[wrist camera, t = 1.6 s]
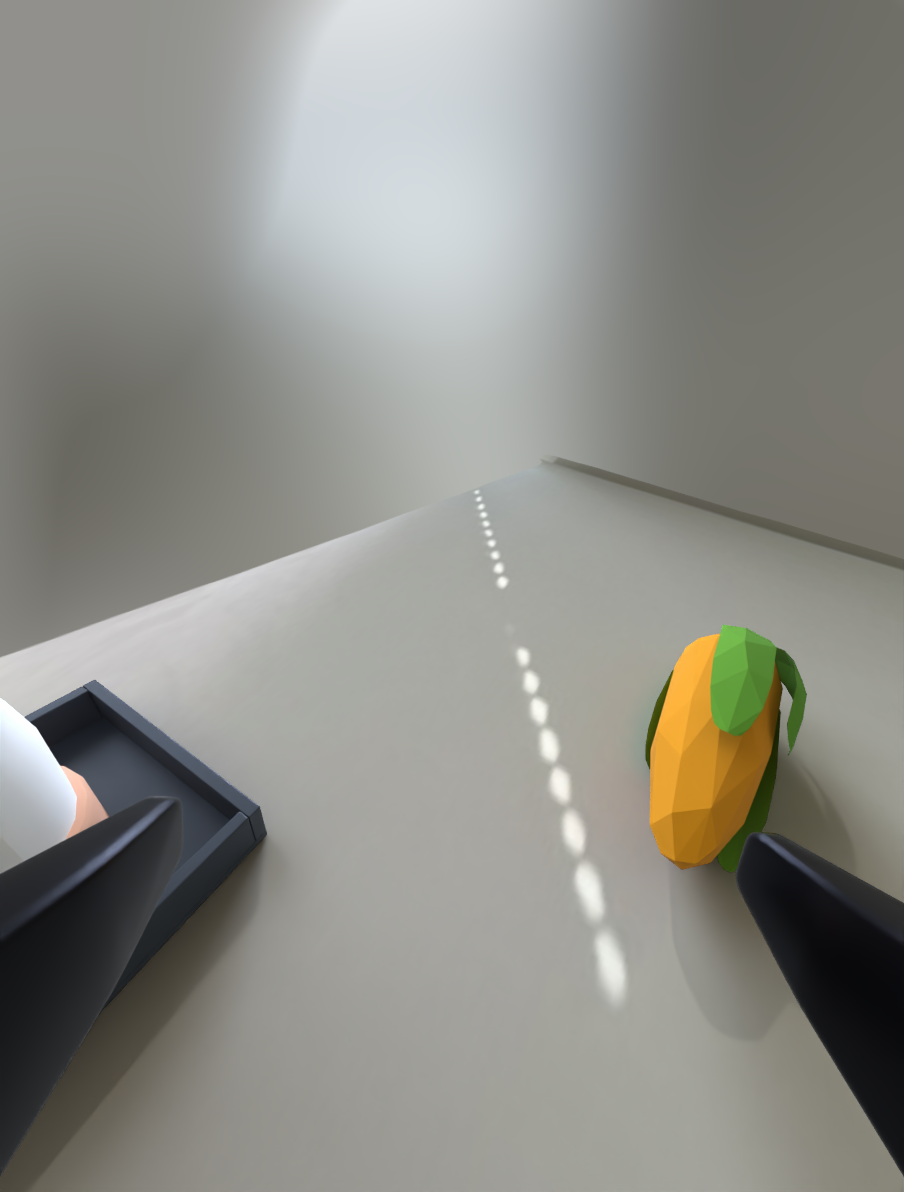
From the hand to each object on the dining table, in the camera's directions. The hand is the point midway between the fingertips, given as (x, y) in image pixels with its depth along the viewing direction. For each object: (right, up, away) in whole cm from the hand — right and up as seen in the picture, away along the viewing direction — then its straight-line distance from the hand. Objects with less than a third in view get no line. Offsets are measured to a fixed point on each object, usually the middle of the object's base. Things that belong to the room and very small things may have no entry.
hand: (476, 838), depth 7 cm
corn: (+15, -7, +21) cm, 27 cm away
